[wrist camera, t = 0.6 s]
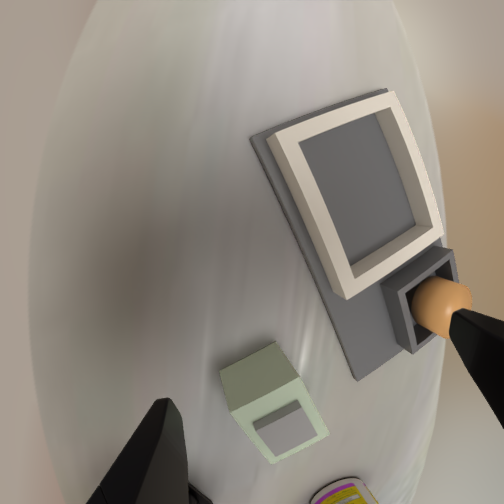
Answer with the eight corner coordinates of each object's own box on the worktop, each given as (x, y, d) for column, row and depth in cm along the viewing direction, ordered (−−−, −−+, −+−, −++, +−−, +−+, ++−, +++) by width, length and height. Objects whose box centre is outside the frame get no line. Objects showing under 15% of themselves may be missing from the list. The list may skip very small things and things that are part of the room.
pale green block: (304, 396, 23) (334, 441, 17) (255, 422, 22) (274, 472, 17) (275, 340, 22) (304, 383, 16) (218, 370, 21) (231, 420, 15)
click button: (449, 307, 22) (474, 318, 19) (416, 334, 22) (440, 348, 19) (441, 266, 21) (468, 274, 18) (406, 293, 21) (433, 304, 18)
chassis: (449, 306, 25) (470, 315, 22) (353, 378, 24) (370, 395, 21) (382, 89, 20) (403, 80, 18) (249, 138, 19) (259, 128, 16)
